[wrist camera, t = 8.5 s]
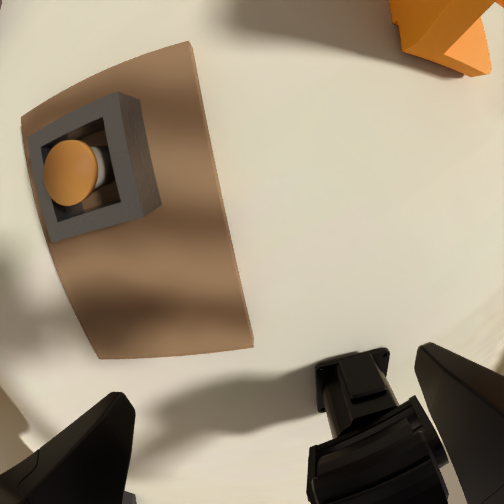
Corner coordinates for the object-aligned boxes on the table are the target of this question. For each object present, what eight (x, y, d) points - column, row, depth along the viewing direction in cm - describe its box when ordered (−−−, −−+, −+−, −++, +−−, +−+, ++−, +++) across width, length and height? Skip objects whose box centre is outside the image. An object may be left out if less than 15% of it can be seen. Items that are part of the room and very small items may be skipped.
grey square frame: (162, 204, 16) (144, 217, 13) (77, 228, 16) (51, 243, 13) (139, 99, 13) (117, 91, 11) (55, 136, 14) (26, 137, 11)
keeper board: (253, 337, 20) (254, 388, 15) (104, 350, 21) (80, 391, 16) (192, 47, 13) (171, 12, 8) (30, 117, 14) (-18, 117, 9)
